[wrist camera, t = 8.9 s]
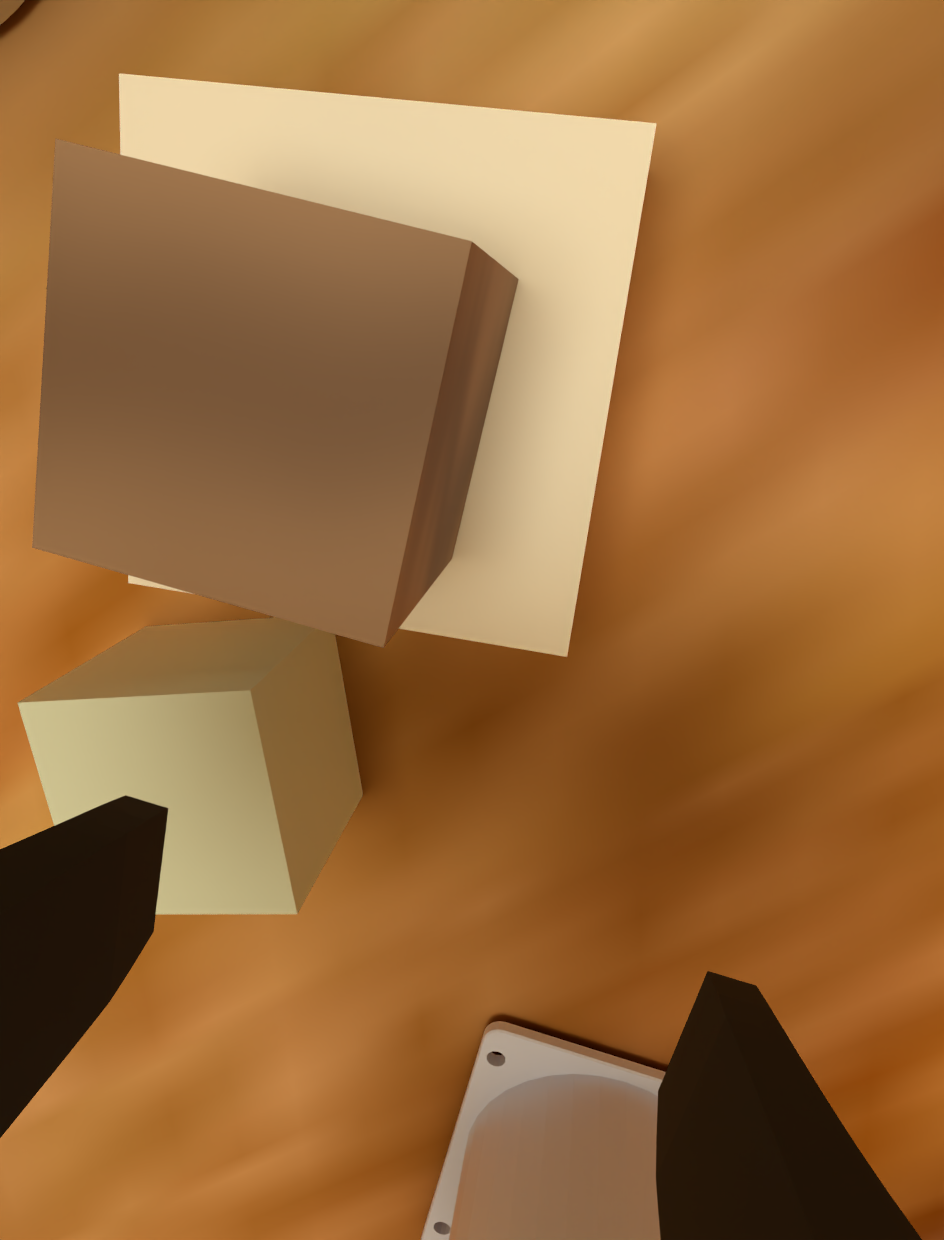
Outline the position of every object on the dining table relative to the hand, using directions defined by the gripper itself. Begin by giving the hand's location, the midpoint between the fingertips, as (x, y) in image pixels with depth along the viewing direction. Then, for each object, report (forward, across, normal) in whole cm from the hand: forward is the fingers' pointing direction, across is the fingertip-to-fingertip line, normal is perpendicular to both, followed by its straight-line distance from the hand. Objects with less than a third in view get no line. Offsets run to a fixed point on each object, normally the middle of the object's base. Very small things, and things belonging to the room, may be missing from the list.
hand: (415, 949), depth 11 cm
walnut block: (+6, +4, -6) cm, 9 cm away
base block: (+10, +4, -6) cm, 13 cm away
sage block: (+10, +6, +3) cm, 12 cm away
